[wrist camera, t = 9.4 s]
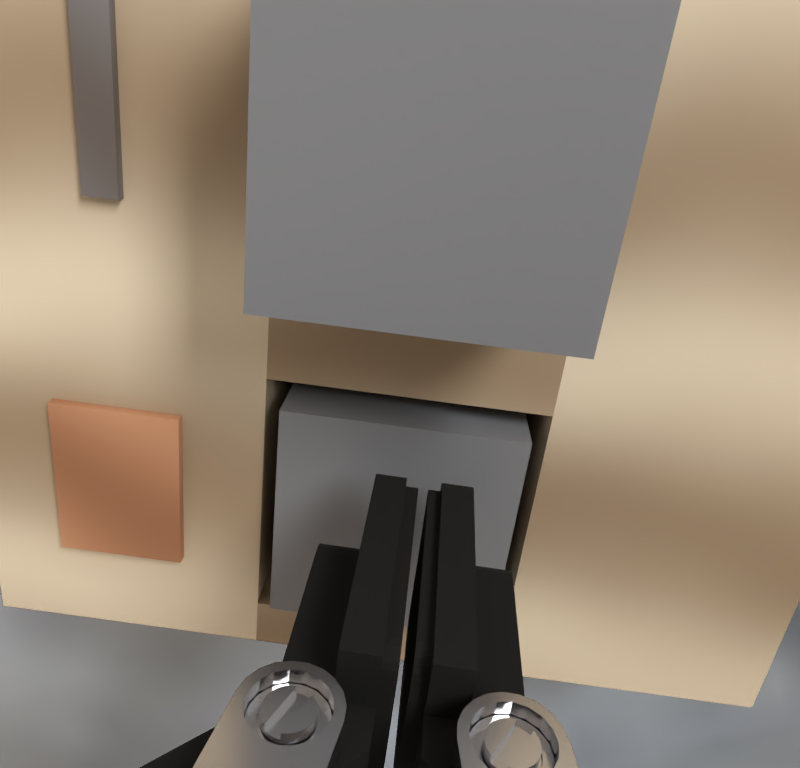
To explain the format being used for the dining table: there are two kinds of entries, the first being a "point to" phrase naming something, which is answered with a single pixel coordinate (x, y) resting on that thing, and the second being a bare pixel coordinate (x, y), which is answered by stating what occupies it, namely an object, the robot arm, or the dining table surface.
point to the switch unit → (395, 357)
